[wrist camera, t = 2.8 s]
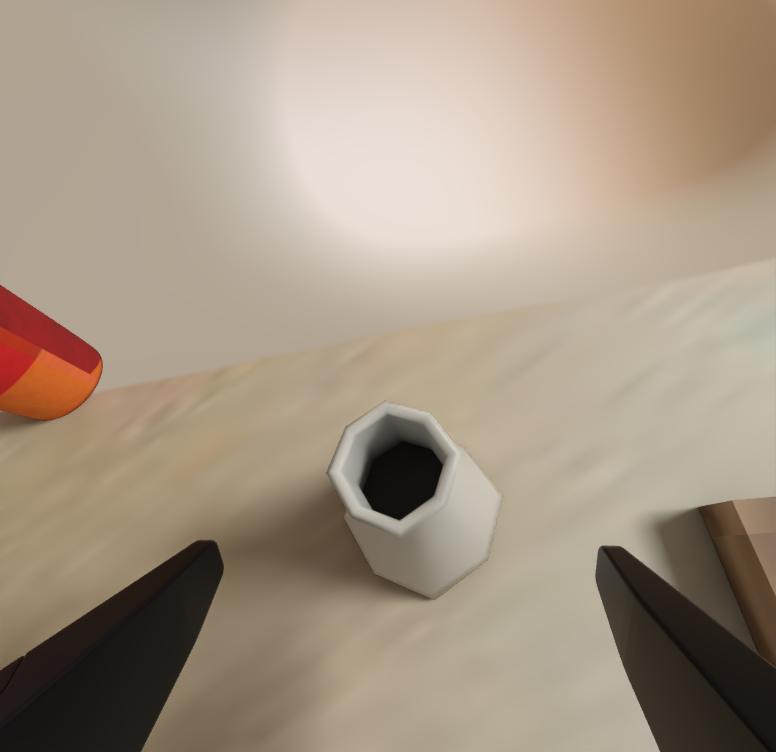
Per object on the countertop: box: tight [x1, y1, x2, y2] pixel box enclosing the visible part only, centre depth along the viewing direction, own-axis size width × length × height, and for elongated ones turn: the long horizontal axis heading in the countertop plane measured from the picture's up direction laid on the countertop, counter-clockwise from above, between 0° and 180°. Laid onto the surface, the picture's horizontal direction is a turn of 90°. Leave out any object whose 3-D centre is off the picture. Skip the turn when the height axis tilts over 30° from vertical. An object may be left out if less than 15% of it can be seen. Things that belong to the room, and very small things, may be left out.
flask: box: [326, 400, 503, 600], centre depth 14 cm, size 7×7×10 cm
